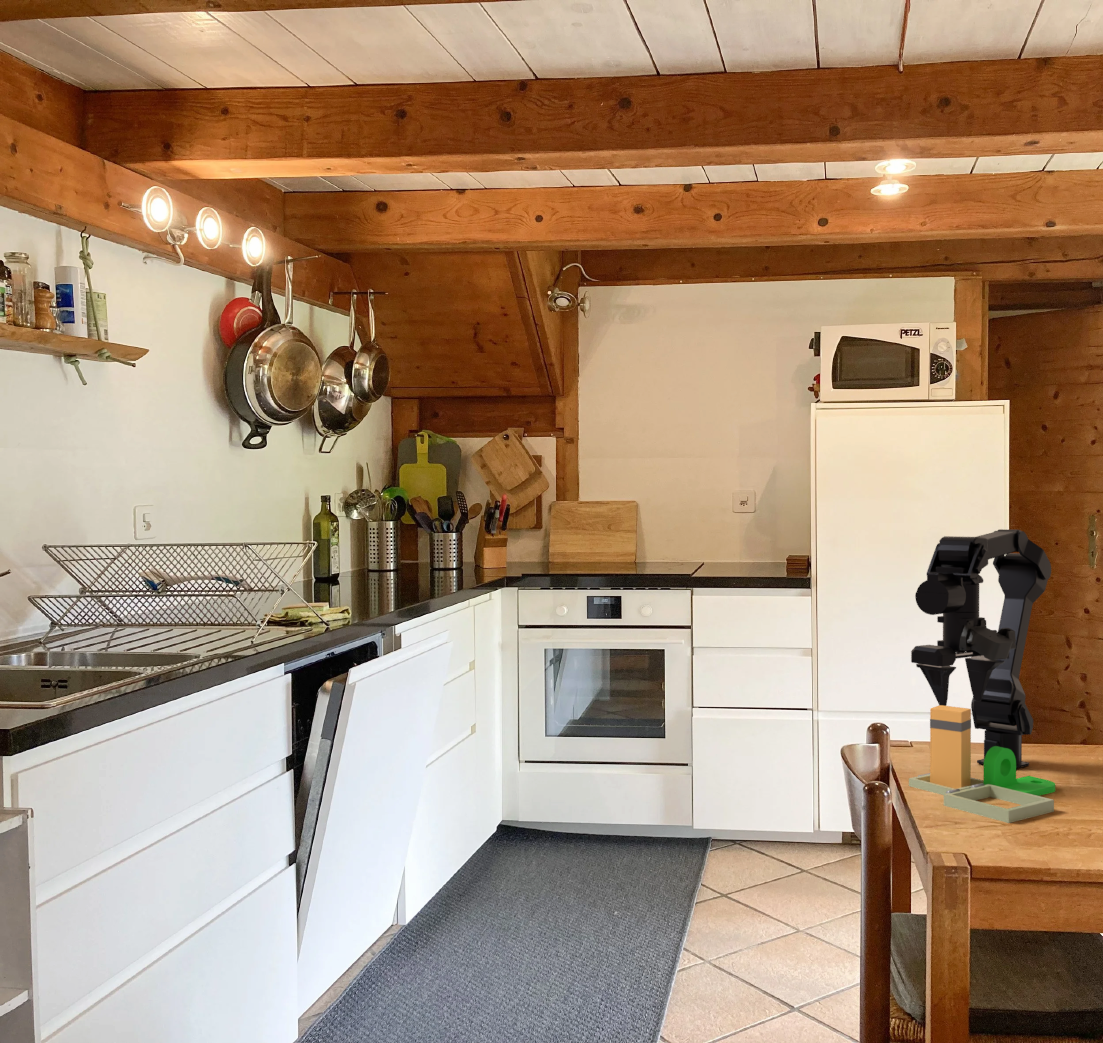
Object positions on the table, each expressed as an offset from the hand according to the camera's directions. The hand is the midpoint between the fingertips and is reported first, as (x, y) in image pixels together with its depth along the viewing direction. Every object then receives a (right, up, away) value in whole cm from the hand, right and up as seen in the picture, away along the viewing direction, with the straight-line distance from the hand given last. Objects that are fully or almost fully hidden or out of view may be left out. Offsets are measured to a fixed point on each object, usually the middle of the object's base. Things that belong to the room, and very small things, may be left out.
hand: (960, 703), depth 181 cm
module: (-4, -13, -8) cm, 15 cm away
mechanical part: (+6, -14, -9) cm, 18 cm away
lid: (-4, -13, -8) cm, 16 cm away
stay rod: (-3, -13, +1) cm, 13 cm away
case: (-2, -13, -19) cm, 24 cm away
